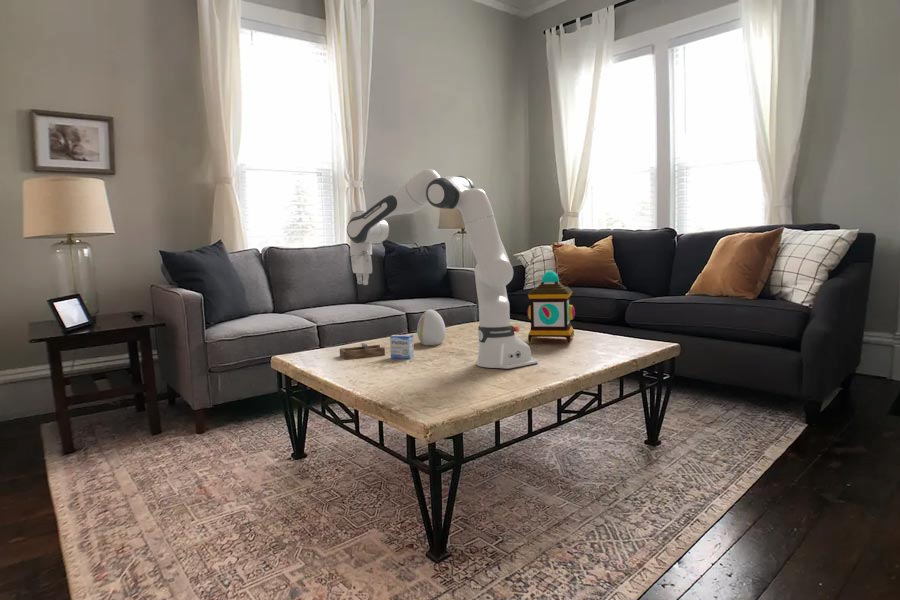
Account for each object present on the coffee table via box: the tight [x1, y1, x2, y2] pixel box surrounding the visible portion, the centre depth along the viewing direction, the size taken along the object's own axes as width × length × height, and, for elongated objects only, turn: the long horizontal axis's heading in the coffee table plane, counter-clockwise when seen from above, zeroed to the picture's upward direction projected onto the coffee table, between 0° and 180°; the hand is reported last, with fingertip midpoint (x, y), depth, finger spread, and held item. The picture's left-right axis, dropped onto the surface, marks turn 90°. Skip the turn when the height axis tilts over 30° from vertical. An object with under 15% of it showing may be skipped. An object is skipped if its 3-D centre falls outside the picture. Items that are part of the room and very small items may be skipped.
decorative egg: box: [416, 309, 447, 346], centre depth 235 cm, size 12×12×15 cm
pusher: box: [361, 342, 368, 349], centre depth 214 cm, size 1×5×4 cm, turn 23°
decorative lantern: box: [527, 270, 576, 345], centre depth 233 cm, size 20×20×30 cm
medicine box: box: [389, 334, 415, 360], centre depth 206 cm, size 8×4×9 cm, turn 73°
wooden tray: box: [339, 344, 386, 360], centre depth 214 cm, size 16×8×3 cm, turn 113°
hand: (362, 284), depth 226 cm, fingers open, 8 cm apart
